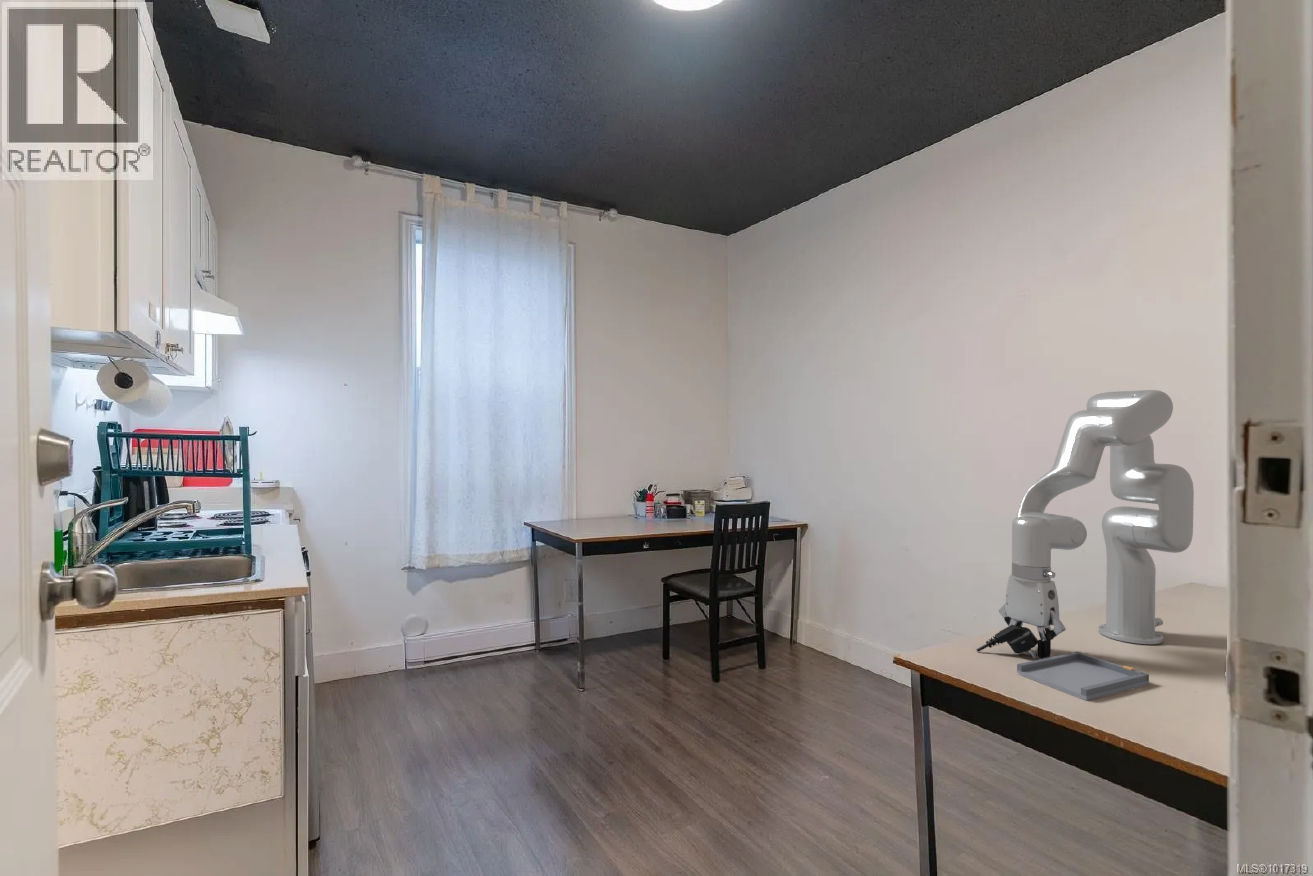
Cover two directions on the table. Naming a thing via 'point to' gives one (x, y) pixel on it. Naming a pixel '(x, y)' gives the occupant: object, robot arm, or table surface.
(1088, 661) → the dock
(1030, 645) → the power plug
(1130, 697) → the table surface
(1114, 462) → the robot arm
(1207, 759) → the table surface
